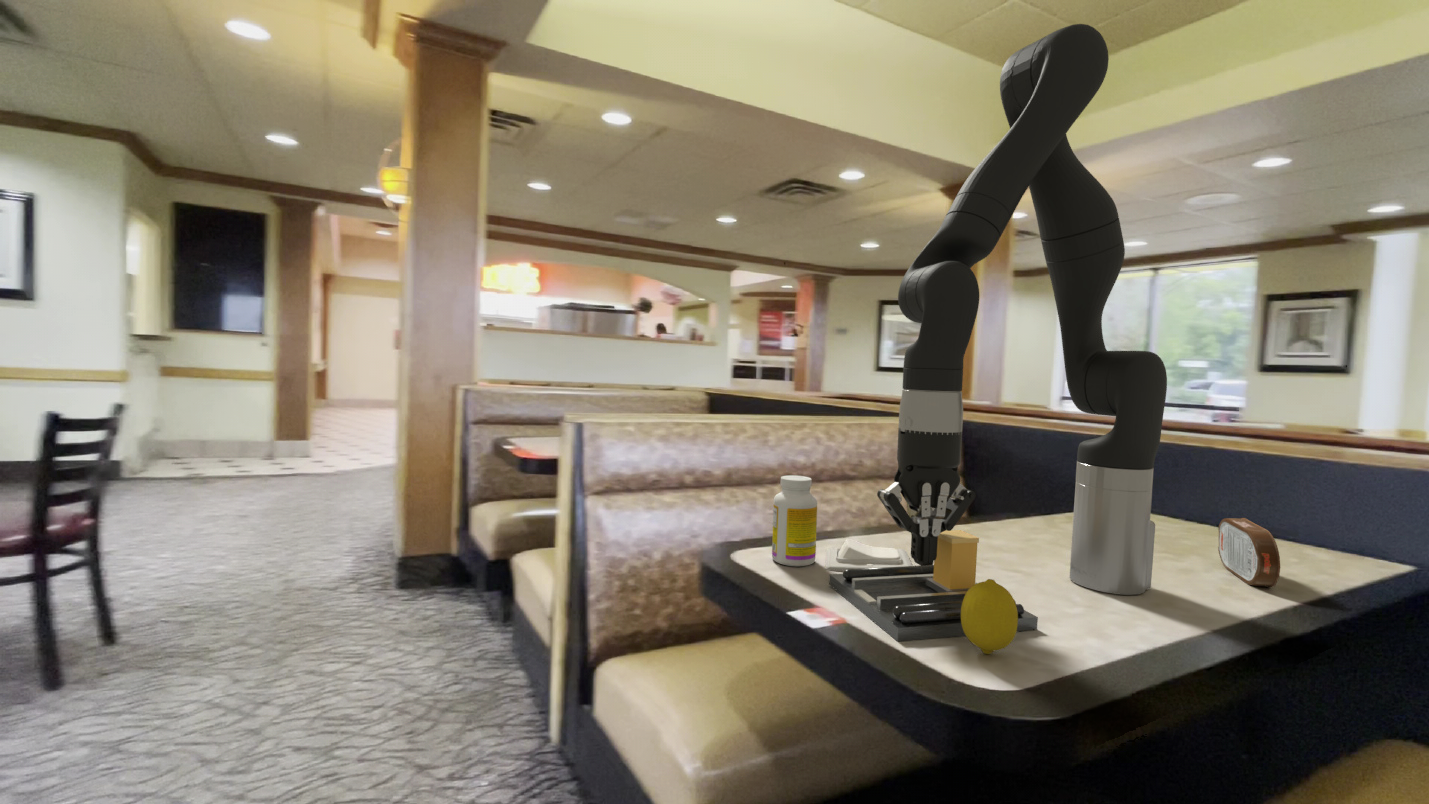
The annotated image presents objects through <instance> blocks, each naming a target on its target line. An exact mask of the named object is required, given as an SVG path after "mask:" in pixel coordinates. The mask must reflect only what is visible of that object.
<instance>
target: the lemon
mask: <svg viewBox="0 0 1429 804" xmlns="http://www.w3.org/2000/svg"><path fill="white" fill-rule="evenodd" d="M976 583H977V582H976ZM1014 600H1015V599H1014V597H1013V595H1012V594H1011V592H1010V591H1009V590H1007V588H1006V587H1004V586H1003V585H1001V584H1000V583H997V582H996V581H995V579H991V578H988V579H986V580H985V581H981V582H978V583H977V584H975V585H973V586H972V587H971V588H970V589H969V590H968V591H967V592H966V594H965V596H964V599H963V602H962V606H961V624H962V628H963V631H964V633H965V635H966V636H965V637H966V638H967V639H968V640H969V642H971V643H972V644H973V645H974V646H975V647H977V648H979V649H980V651H982V652H983V654H985V655H991V654H992V653H994V652H995V651H1001V650H1003V649H1005V648H1006V647H1008V646H1009V645H1010V644H1011V643H1012V641H1014V639H1015V636H1016V635H1017V632H1018V631H1017V625H1018V613H1017V607H1016V604H1017V603H1016V604H1015V602H1016V600H1015V601H1014ZM1016 631H1017V632H1016Z"/></svg>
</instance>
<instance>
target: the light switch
mask: <svg viewBox="0 0 1429 804" xmlns="http://www.w3.org/2000/svg"><path fill="white" fill-rule="evenodd" d="M901 566H913V564H912V561H911V559H910V557H909V554H908V551H907V550H905V549H903V548H893V547H880V546H871V545H868V544H864V543H862V542H859V541H857V540H855V539H852V538H846V539H845V541H844V542H843V544H842V546H840V547H839V546H837V547H836V546H830V547H828V548H827V549H826V550H825V565H824V570H825V571H833V572H842V573H843V572H844V570H846V569H863V568H882V567H901Z"/></svg>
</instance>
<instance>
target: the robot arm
mask: <svg viewBox="0 0 1429 804" xmlns="http://www.w3.org/2000/svg"><path fill="white" fill-rule="evenodd" d="M1109 58H1110V57H1109V49H1108V45H1107V43H1106V41H1105V39H1104V36H1103V35H1102V33H1101V32H1099V31H1098V30H1097V29H1096V28H1095V27H1093V26H1091V25H1089V24H1085V23H1075V24H1071V25H1068V26H1065V27H1062V28H1059V29H1056V30H1054V31H1052V32H1051V33H1049V34H1047V35H1046V36H1044V37H1042V38H1039V39H1038V40H1036V41H1034V42H1032V43H1030V44H1028V45H1026V46H1023V48H1020V49H1018V50H1017V51H1014V53H1012V54H1011V55H1010V56H1009V57H1008V59H1006V61H1005V63H1004V64H1003V66H1002V69H1001V71H1000V77H999V94H1000V99H1001V104H1002V107H1003V110H1004V114H1005V118H1006V120H1007V123H1008V126H1009V129H1008V130H1007V132H1006V134H1004V136H1003V137H1002V138H1001V139H1000V140H999V141H998V142H997V144H995V146H994V147H993V148H992V149H991V151H990V152H988V154H987V155H986V156H984V157H983V159H982V160H981V161H980V162H979V163H978V164H977V166H976V167H975V168H974V169H973V171H972V172H971V173H970V174H969V175H968V177H967V178H966V180H965V181H964V183H963V184H962V186H961V188H960V189H959V190H958V193H957V195H956V196H955V198H954V200H953V201H952V204H951V205H950V207H949V209H948V211H947V213H946V215H945V216H944V219H943V220H942V222H941V225H940V226H939V229H938V230H937V231H936V232H935V234H934V235H933V236H932V238H931V239H929V241H928V242H927V244H925V246H924V247H923V248H922V250H921V251H920V253H919V254H918V255H917V256H916V257H915V259H914V260H913V262H912V263H911V265H909V267H908V269H907V271H906V272H905V273H904V276H903V278H902V280H901V281H900V284H899V285H900V286H899V288H898V293H897V300H898V307H899V309H900V311H901V313H902V314H903V316H904V317H905V318H906V319H907V320H910V321H911V322H914V323H918V324H921V325H920V329H919V333H918V338H917V339H916V341H915V342H913V343H911V344H910V345H909V346H908V347H906V350H905V353H904V359H903V369H902V391H901V398H900V402H899V411H898V412H899V413H898V433H897V448H896V449H897V450H896V451H897V452H896V453H897V454H896V459H897V460H896V461H897V470H896V473H895V474H894V476H893V477H894V478H893V481H894V482H893V483H892V484H890V485H889V486H888V487H887V488H886V489H883V488H880V489H879V490H878V491H877V493H876V496H877V497H878V499H879V501H880V502H881V504H882V505H883V506H884V508H885V510H886V511H887V512H888V514H889V515H890V517H891V518H892V519H893V521H894V523H895V524H896V526H897V527H898V528H900V529H904V530H906V532H908V533H910V534H911V536H910V537H911V539H910V557H911V559H913V561H914V563H915V564H918V566H929V565H934V561H935V560H936V557H937V544H938V536H939V534H940V533H941V532H943V531H951V530H953V529H954V528H955V526H956V525H957V524H958V522H959V521H960V520H961V518H962V516H963V515H964V514H965V512H966V511H967V510H968V508H969V507H970V506H971V505H972V503H973V501H974V500H975V499H976V492H975V491H973V490H970V489H967V488H966V487H965V486H964V485H963V484H962V483H961V476H960V474H959V470H958V467H959V466H960V465H961V460H962V443H963V442H962V441H963V425H964V424H963V422H964V404H963V381H964V377H963V376H964V360H965V359H964V358H965V353H966V351H967V349H968V345H969V344H970V343H969V342H970V340H971V336H972V332H973V329H974V325H975V322H976V318H977V315H978V311H979V306H980V288H979V283H978V279H977V277H976V275H975V273H974V271H973V270H972V269H971V268H972V267H973V266H974V265H975V264H977V263H979V262H981V261H982V260H984V259H986V258H987V257H989V255H990V254H991V253H992V252H993V250H994V249H995V248H996V245H998V242H999V240H1000V239H1001V236H1003V233H1004V232H1005V230H1006V227H1007V226H1008V224H1009V222H1010V221H1011V218H1012V217H1013V215H1014V213H1015V210H1016V209H1017V207H1018V205H1019V203H1020V202H1021V201H1022V198H1023V196H1024V195H1025V193H1026V192H1027V190H1028V189H1029V193H1030V196H1031V200H1032V203H1033V207H1034V212H1035V216H1036V217H1035V218H1036V221H1037V227H1038V231H1039V232H1038V233H1039V237H1040V238H1039V239H1040V242H1041V246H1042V250H1043V255H1044V259H1045V263H1046V267H1047V270H1048V275H1049V277H1050V281H1051V282H1050V283H1051V287H1052V291H1053V297H1054V300H1055V304H1056V311H1057V315H1058V321H1059V327H1060V335H1061V343H1062V353H1063V362H1064V369H1065V378H1066V379H1065V380H1066V385H1067V389H1068V393H1069V396H1070V398H1071V400H1072V402H1073V404H1074V406H1076V408H1077V409H1078V410H1079V411H1081V412H1083V413H1086V414H1090V415H1098V416H1099V415H1100V416H1106V417H1107V416H1108V417H1115V420H1114V424H1113V427H1112V429H1111V430H1110V431H1109V432H1107V433H1106V434H1104V435H1101V436H1099V437H1096V438H1091V439H1087V440H1083V441H1082V442H1080V443H1079V445H1078V446H1077V453H1076V455H1077V456H1076V469H1075V486H1074V487H1075V489H1074V500H1073V501H1074V504H1073V518H1072V533H1071V535H1072V536H1071V550H1070V562H1069V564H1070V565H1069V580H1071V581H1072V582H1074V583H1075V584H1077V585H1078V586H1082V587H1085V588H1087V589H1091V590H1095V591H1099V592H1103V593H1108V594H1115V595H1125V596H1126V595H1132V596H1134V595H1140V594H1141V595H1142V594H1143V593H1145V592H1146V590H1151V589H1152V577H1153V575H1152V574H1153V562H1154V547H1155V536H1156V523H1155V521H1153V520H1151V511H1152V500H1153V482H1154V481H1153V480H1154V468H1155V459H1156V456H1157V452H1158V450H1159V447H1160V442H1161V437H1162V428H1163V427H1162V426H1163V419H1164V413H1165V406H1166V405H1165V404H1166V398H1167V390H1168V389H1167V388H1168V377H1167V369H1166V366H1165V364H1164V363H1165V362H1164V361H1163V360H1162V358H1161V357H1160V356H1159V355H1158V354H1157V353H1155V352H1152V351H1148V350H1147V351H1146V350H1107V348H1106V345H1105V341H1104V336H1103V335H1104V334H1103V323H1102V322H1103V321H1102V320H1103V313H1104V309H1105V306H1106V304H1107V301H1108V299H1109V298H1110V297H1109V296H1110V295H1111V292H1112V290H1113V288H1114V287H1115V284H1116V282H1117V280H1118V277H1119V275H1120V273H1121V270H1122V267H1123V264H1124V259H1125V254H1126V253H1125V252H1126V248H1125V243H1124V236H1123V231H1122V228H1121V227H1122V226H1121V221H1120V217H1119V212H1118V209H1117V206H1116V204H1115V202H1114V199H1113V198H1112V196H1111V194H1110V193H1109V191H1107V189H1106V188H1105V187H1104V186H1103V184H1101V183H1100V181H1099V180H1097V178H1095V176H1094V175H1093V174H1092V173H1091V172H1090V171H1089V170H1088V168H1086V166H1084V165H1083V163H1082V162H1081V161H1080V160H1079V158H1078V157H1077V155H1076V154H1075V153H1074V151H1073V149H1072V147H1071V145H1070V142H1069V140H1068V139H1069V138H1068V136H1067V133H1068V131H1069V130H1070V129H1071V127H1072V126H1073V125H1074V124H1075V122H1076V120H1078V118H1079V116H1080V115H1081V114H1082V113H1083V112H1084V110H1085V109H1086V107H1088V105H1089V104H1090V102H1092V100H1093V98H1094V97H1095V95H1096V94H1097V93H1098V91H1099V90H1100V89H1101V86H1102V85H1103V83H1104V81H1105V78H1106V75H1107V72H1108V69H1109V60H1110V59H1109ZM902 497H903V498H902ZM903 499H904V501H905V502H906V509H905V508H904V506H903V504H902V501H903Z"/></svg>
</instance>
